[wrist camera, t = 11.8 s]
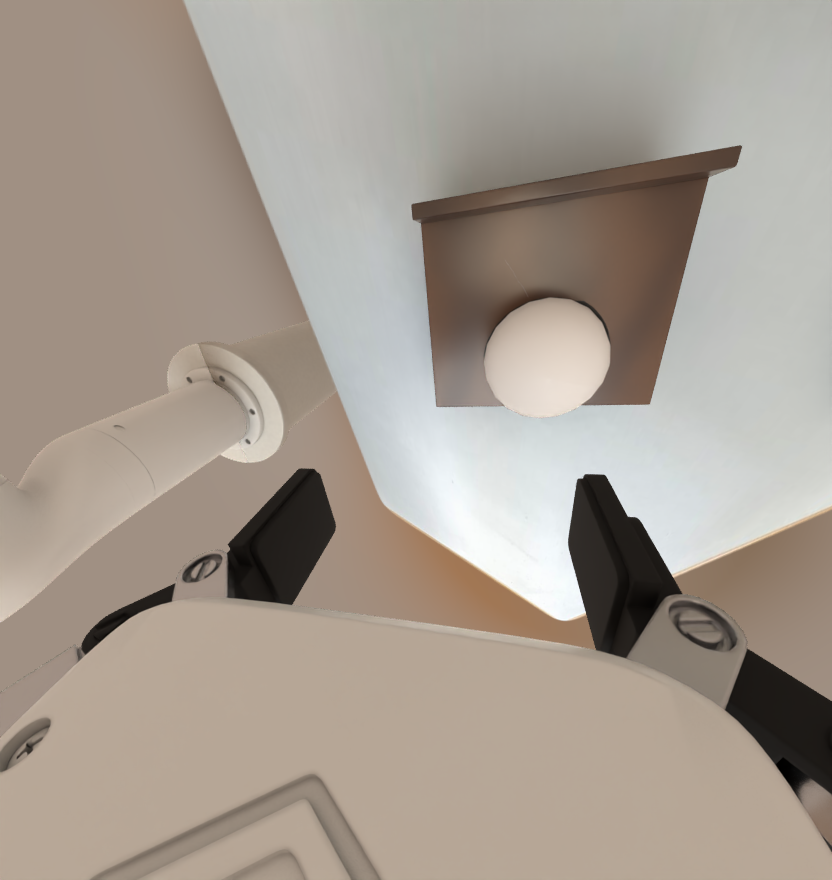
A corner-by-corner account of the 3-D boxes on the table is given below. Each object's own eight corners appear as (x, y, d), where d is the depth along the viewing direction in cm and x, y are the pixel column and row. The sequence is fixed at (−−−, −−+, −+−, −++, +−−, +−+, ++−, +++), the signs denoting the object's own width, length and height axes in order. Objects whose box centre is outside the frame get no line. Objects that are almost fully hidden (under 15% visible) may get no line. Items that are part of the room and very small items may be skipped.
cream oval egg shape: (598, 381, 23) (634, 426, 17) (496, 402, 26) (496, 448, 20) (586, 228, 19) (628, 213, 13) (467, 271, 22) (454, 276, 16)
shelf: (448, 378, 34) (431, 418, 25) (439, 221, 27) (410, 203, 19) (616, 372, 30) (664, 418, 21) (653, 187, 23) (743, 144, 15)
